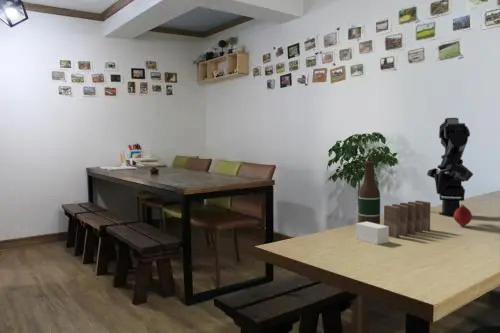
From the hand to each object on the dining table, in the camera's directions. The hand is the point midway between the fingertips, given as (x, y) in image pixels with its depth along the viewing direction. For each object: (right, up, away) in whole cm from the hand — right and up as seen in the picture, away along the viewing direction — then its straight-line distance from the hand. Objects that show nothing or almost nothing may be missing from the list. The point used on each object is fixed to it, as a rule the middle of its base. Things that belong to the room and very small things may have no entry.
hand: (438, 193), depth 152 cm
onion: (+8, -12, -1) cm, 14 cm away
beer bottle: (-25, -12, +1) cm, 28 cm away
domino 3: (-15, -13, -10) cm, 22 cm away
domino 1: (-22, -13, -14) cm, 29 cm away
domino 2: (-18, -13, -12) cm, 25 cm away
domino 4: (-12, -12, -8) cm, 19 cm away
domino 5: (-8, -12, -6) cm, 16 cm away
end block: (-30, -14, -19) cm, 38 cm away
